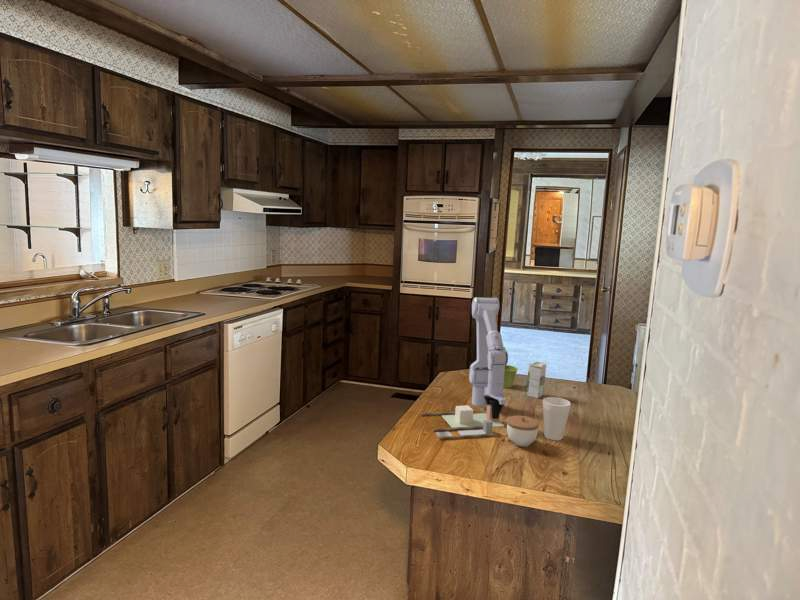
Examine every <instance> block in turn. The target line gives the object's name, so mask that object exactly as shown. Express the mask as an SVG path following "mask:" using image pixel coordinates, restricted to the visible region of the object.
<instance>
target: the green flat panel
mask: <svg viewBox="0 0 800 600" xmlns="http://www.w3.org/2000/svg"><path fill="white" fill-rule="evenodd" d="M500 414H501V413H500ZM500 414H499V417H498V419H493V418H492V408H491V405H487V409H486V412H480V413H473V423H468V424H459V423H458V422H457V421H456V419H455V414H453V415H440V416H441V417H442V418H443V419H444V421H445V422H447V424H448V425H449V426H450V428H454V427H471V426H483V425H484V420H491V421H492V422H493V427H504V428H506V425H505V424H504V423H502V421H500Z"/></svg>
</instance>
